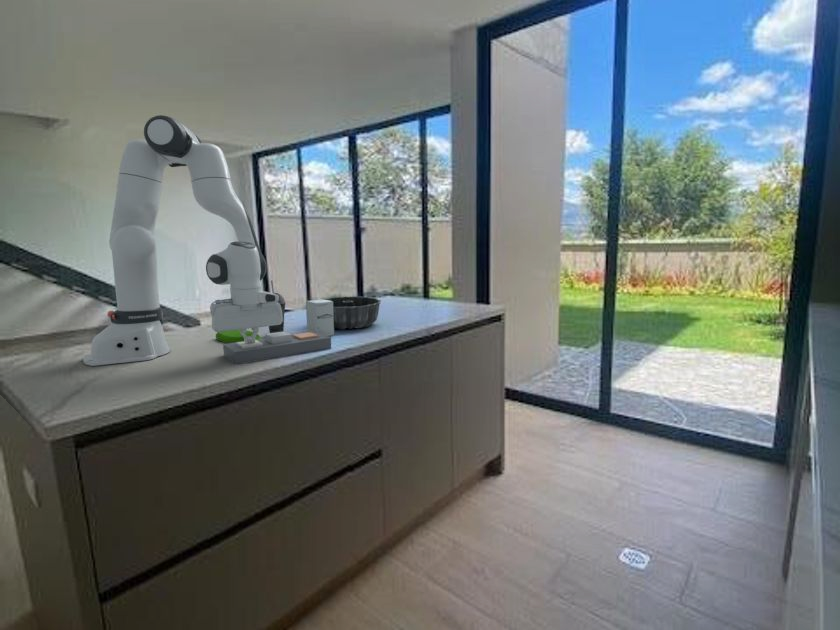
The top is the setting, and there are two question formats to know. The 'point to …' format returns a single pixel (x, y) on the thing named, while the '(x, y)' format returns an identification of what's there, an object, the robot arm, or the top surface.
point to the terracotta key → (305, 336)
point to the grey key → (278, 337)
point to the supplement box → (320, 317)
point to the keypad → (275, 348)
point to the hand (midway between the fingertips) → (249, 342)
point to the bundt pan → (354, 311)
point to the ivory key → (248, 344)
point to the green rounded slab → (233, 336)
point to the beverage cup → (281, 301)
